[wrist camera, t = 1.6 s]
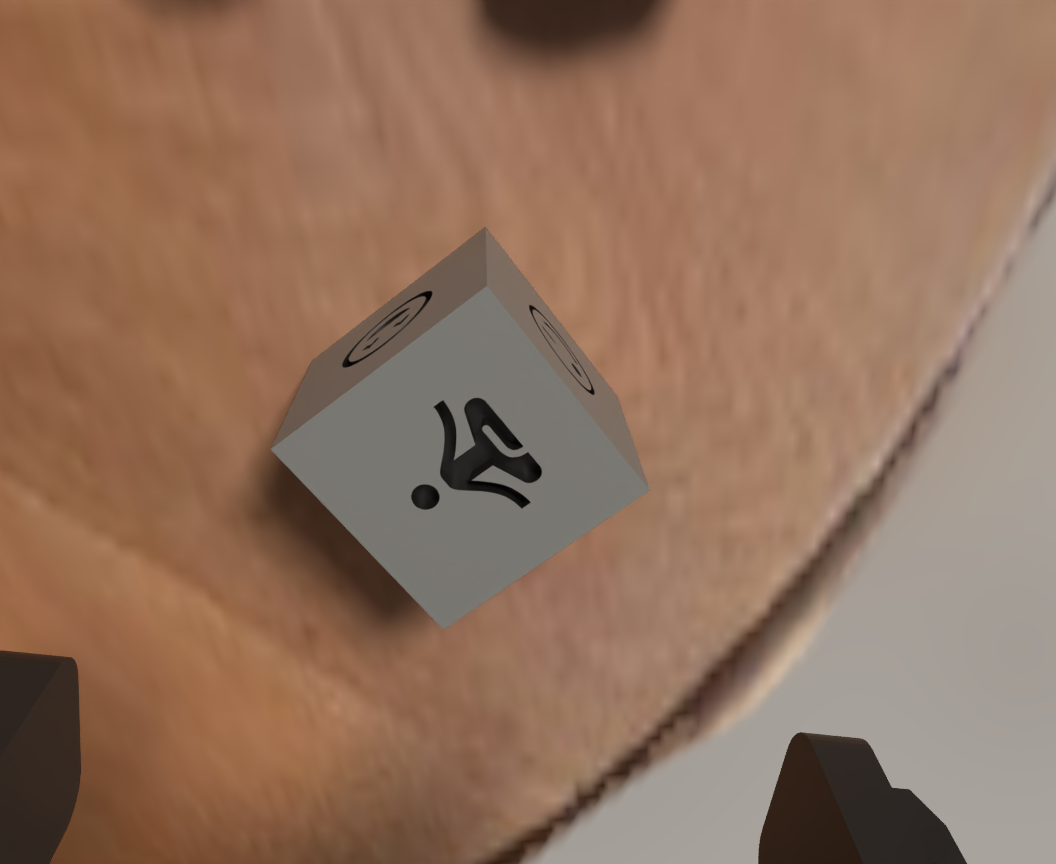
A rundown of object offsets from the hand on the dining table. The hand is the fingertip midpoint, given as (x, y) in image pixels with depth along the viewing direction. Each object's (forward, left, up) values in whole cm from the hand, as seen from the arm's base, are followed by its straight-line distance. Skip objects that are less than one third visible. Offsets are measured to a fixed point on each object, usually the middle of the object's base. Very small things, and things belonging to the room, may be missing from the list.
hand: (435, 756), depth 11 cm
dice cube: (0, 0, -13) cm, 13 cm away
